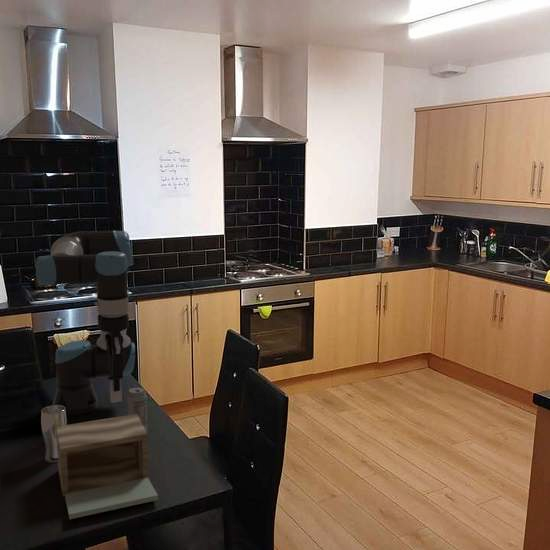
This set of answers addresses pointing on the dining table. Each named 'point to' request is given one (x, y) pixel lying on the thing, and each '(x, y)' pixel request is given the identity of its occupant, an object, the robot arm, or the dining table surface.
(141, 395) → the energy drink can
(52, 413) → the beer glass
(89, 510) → the door
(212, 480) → the dining table surface
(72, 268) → the robot arm
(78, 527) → the dining table surface
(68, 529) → the dining table surface
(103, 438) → the cabinet
